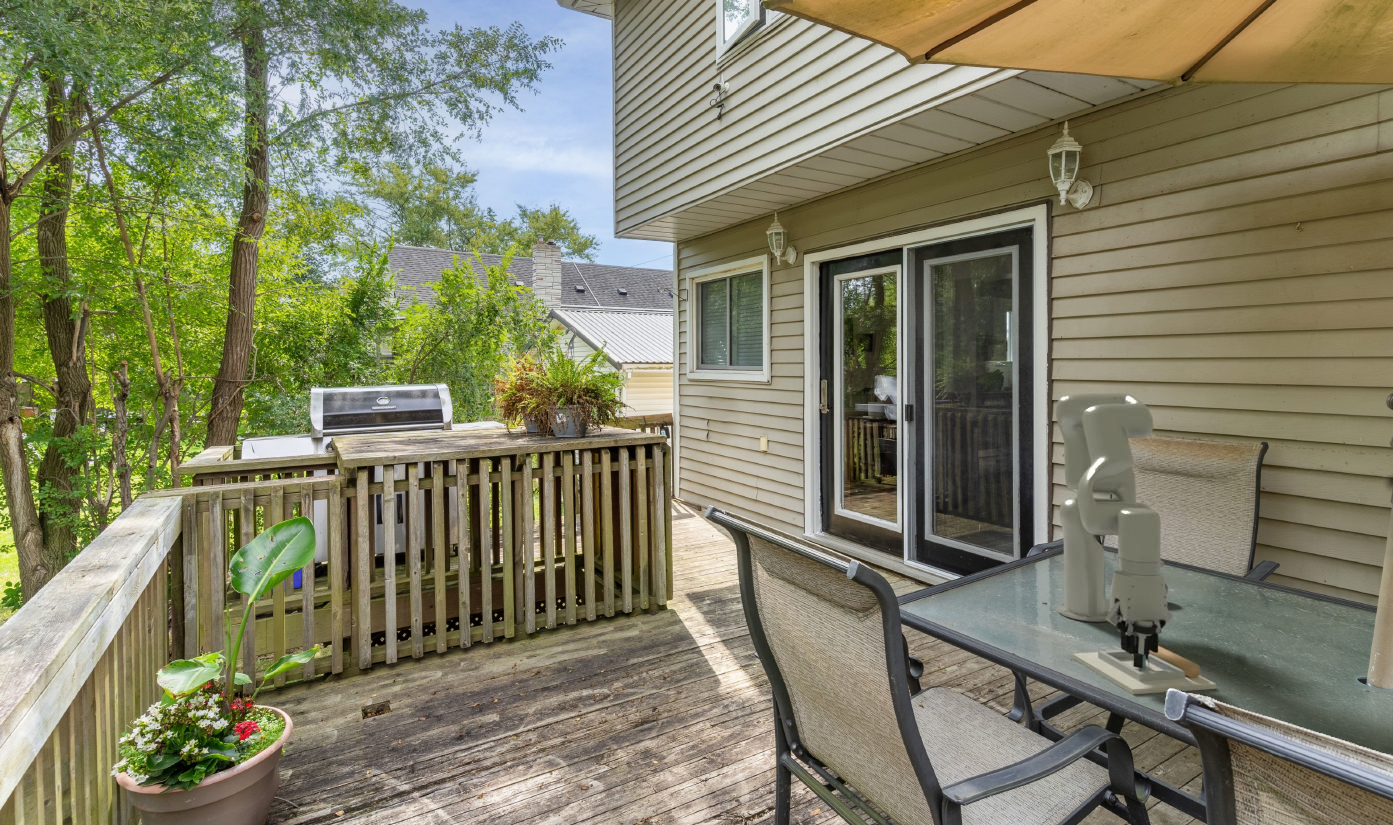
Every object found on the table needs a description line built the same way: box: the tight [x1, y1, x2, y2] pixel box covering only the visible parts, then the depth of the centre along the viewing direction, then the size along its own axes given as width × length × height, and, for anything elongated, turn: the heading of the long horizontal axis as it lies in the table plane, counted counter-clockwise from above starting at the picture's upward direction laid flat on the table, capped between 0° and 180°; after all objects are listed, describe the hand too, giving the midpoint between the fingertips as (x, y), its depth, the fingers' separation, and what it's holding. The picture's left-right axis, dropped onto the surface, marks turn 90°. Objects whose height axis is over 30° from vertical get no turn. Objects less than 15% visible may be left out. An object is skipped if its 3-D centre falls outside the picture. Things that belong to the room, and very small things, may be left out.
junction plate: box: [1071, 645, 1217, 695], centre depth 138 cm, size 18×18×4 cm
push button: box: [1126, 620, 1157, 669], centre depth 138 cm, size 7×5×10 cm
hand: (1139, 650), depth 138 cm, fingers closed on push button, 4 cm apart
